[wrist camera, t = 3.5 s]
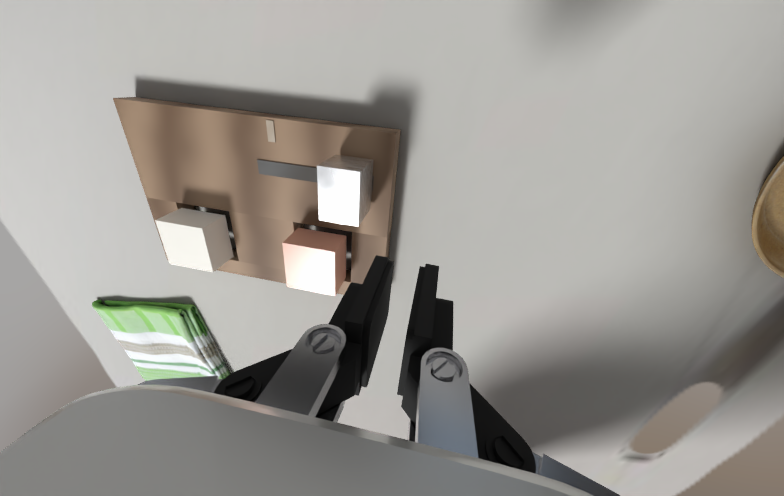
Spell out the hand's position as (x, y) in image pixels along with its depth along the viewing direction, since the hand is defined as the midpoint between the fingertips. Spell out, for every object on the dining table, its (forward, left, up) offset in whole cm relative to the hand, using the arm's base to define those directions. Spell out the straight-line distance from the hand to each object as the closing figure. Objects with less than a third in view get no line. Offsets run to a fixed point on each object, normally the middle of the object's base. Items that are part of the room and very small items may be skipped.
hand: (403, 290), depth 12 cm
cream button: (+21, +7, -13) cm, 26 cm away
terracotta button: (+9, +8, -13) cm, 18 cm away
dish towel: (+33, +33, -16) cm, 49 cm away
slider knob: (+6, 0, -13) cm, 14 cm away
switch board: (+15, +4, -15) cm, 22 cm away
